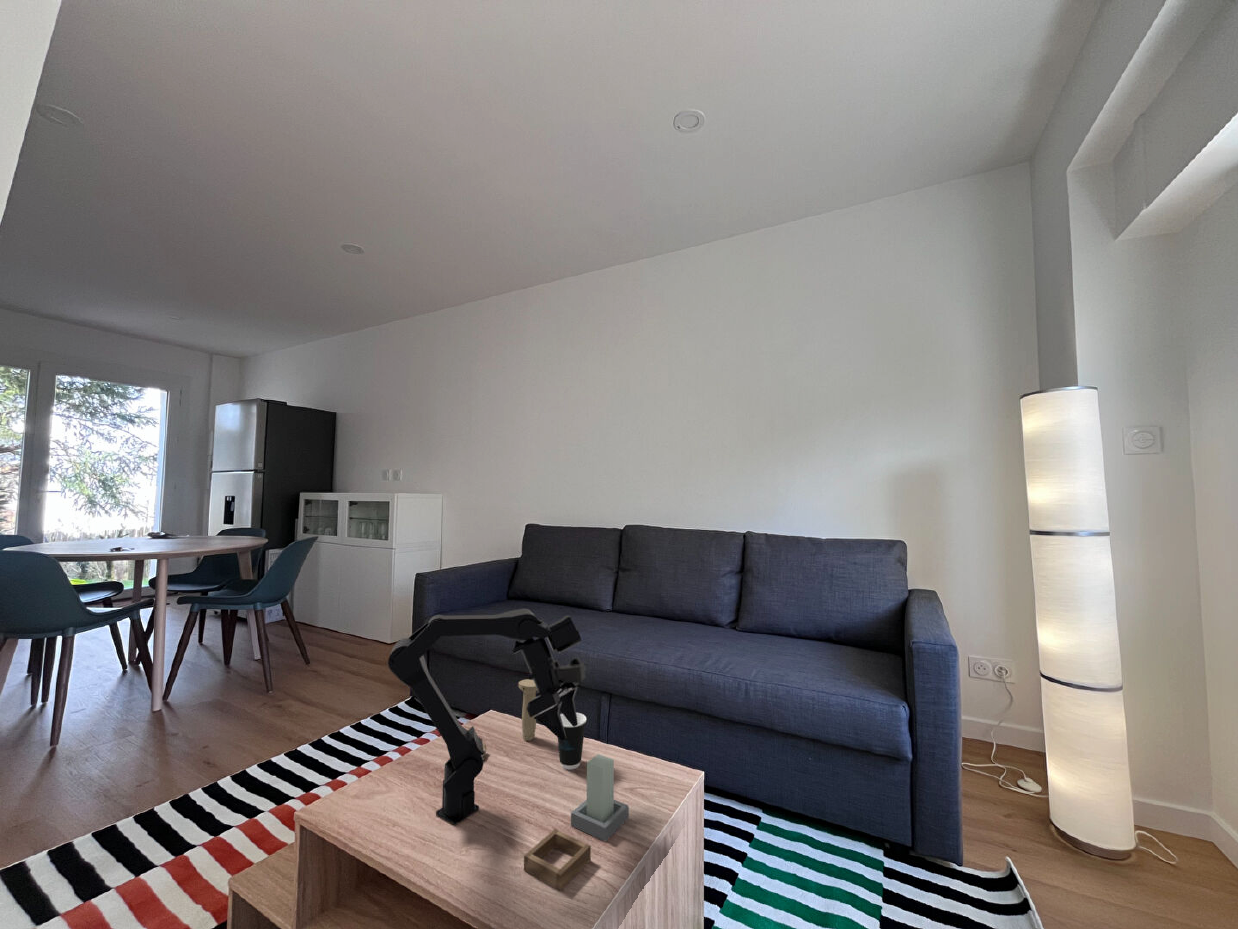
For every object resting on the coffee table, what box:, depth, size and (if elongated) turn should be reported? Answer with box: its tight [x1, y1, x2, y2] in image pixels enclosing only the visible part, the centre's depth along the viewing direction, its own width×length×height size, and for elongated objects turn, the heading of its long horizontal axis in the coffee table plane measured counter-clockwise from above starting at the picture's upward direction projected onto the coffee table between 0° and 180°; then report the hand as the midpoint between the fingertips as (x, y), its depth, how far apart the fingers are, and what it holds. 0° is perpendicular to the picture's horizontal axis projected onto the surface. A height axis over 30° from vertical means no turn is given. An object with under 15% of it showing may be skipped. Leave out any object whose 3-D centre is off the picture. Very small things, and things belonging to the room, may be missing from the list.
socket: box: [570, 799, 630, 842], centre depth 100 cm, size 8×8×2 cm
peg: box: [586, 753, 615, 823], centre depth 100 cm, size 4×4×12 cm
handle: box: [518, 678, 538, 742], centre depth 136 cm, size 5×6×15 cm
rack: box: [523, 828, 592, 892], centre depth 88 cm, size 8×8×2 cm
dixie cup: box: [557, 712, 587, 770], centre depth 122 cm, size 8×8×11 cm
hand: (570, 732), depth 106 cm, fingers open, 9 cm apart
